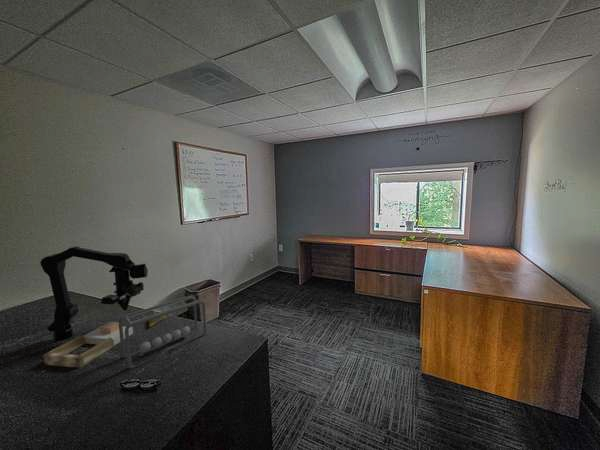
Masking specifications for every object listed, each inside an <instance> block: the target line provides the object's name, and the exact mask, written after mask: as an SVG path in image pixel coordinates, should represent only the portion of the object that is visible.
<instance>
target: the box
mask: <svg viewBox="0 0 600 450" xmlns="http://www.w3.org/2000/svg"><path fill="white" fill-rule="evenodd" d="M83 336H84V335H82V334H81V335H78V336H77V337H75V338H72V339H71V340H69V341H67V342H64V343H62V344H61V345H59V346H57V347H55V348H54V349H51V350H50V351H48V352H45V354H43V360H44V365H46V366H55V367H56V366H57V367H63V368H64V367H66V368H79V369H80V368H82V367H83V366H85V365H87V364H88V363H90V362H91V361H93V360H94V359H95V358H97V357H99V356H100V355H102V354H104V353H106V351H108V350H110V349H111V348H113V347H114V346H113V341H112V338H107V339H106V340H104V341H103V342H101V343H99V344H95V345H94V346H93V347H91V348H90V349H88V350H86V351H85V352H82V353H81V354H71V352H73V351H75V350H76V349H78V348H80V347H81V346H83V345H84V344H85V343H84V338H83Z"/></svg>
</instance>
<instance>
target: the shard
mask: <svg viewBox="0 0 600 450" xmlns="http://www.w3.org/2000/svg"><path fill="white" fill-rule="evenodd" d="M164 319H165V320H166V319H167V315H164V316H161V317H158V318H157V323H156V318H155V319H152V320H149V321H148V327H149V328H151V327H152V326H153V327H154V323H155V325H157V324H158V323H159V322H161V321H164Z"/></svg>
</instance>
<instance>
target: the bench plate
mask: <svg viewBox="0 0 600 450" xmlns="http://www.w3.org/2000/svg"><path fill="white" fill-rule="evenodd" d="M104 325H105V324H102V325H100V326H99V327H97V328H96V329H93V330H91V331H89V332H88V333H86V334H84V335H83V338H84V344H88V345H98V344H99V343H101V342H103V341H104V340H106V339H107V338H112V341H113V347H114V346H117V345H118V344H119V343H120V333H119V329H118V330H116V331H114V332H113V333H111V334H108V333H100V327H102V326H104ZM126 327H127V326H123V336H124V340H125V328H126ZM133 334H134V326H131V327H130V328H129V337H130V336H131V335H133Z"/></svg>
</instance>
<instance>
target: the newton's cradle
mask: <svg viewBox="0 0 600 450" xmlns="http://www.w3.org/2000/svg"><path fill="white" fill-rule="evenodd" d="M190 299H191V300H192V302H189V303H186V304H185V302H184V301H187V300H190ZM177 303H180V304H181V305H180V306H175V307H174V304H175V305H176V304H177ZM200 304H201V308H202V322H203V325H202V326H203V334H202V336H203V337H204V336H206V335H207V333H208V332H207V331H208V330H207V318H206V317H207V315H206V303H205V301H204V300H198V299H196V296H195V295H188V296H184V297H180V298H177V299H174V300H170V301H168V302H165V303H161V304H158V305H154V306H150V307H147V308H144V309H141V310H138V311H137V310H136V311H135V312H130V313H127V314H124V315H122V316H121V317H120V318H119V319H118V322H119V333H120V342H119V343H120V350H121V351H120V353H121V358H123V359H126V360H127V367H128V369H133V368H135V367H137V366H139V365H142V364H144V363H146V362H147V361H150V360H152V359H154V358H157V357H159V356H161V354H162V353H160V354H158V355H157V356H155V357H151V358H149V359H147V360H145V361H142V362H139V363H138V364H135V365H133V363H132V356H134V355H136V354H138V353H146V352H149V350H150V349H151V348H159V347H160V346H162V344H169V343H170V342H172V339H174V340H179V338H181V336H182V335H183V336H187V335H189V334H190V332H191V331H193V330H197V328H198V319H197V318H198V317H197V316H198V315H197V305H200ZM168 306H171V307H172V308H170V309H166V308H165V307H168ZM190 307H193V321H194V326H193V328H191V329H190V327H189V326H187V325H186V324H187V315H185V318H184V315H182V317H183V318H182V319H183V320H184V322H183V323H184V326H183V327H182V328H181V329H178V328H177V327H178V326H177V325H178V324H177V323H178V311H180V310H182V313H184V311H183V310H184V309H185V310H186V309H188V308H190ZM159 309H164V310H163V311H161V312H157V313H154V311H155V310H159ZM151 311H152V313H153V314H152V315H148V316H145V315H144V314H145V313H149V312H151ZM175 312H176V313H175ZM169 314H173V316H175V314H176V318H173V321H174V323H175V325H174V328H175V329H174V330H173V331H172V333H168V332H165V334H163V335H162V338H161V337H158V336H155V338H153V339H152V341H151V343H150V342H149V341H147V336H146V332H147V324H146V323H147V322H149V320H152V319H155V318H156V324H158V323H157V318H158V317H161V316H164V315H165V316H168V315H169ZM139 315H141V316H142V317H141V318H140V319H136V320H134V321H131V320H130V318H133V317H137V316H139ZM124 319H126V320H127V321H128V323H129V324H128V325H126V326H125V327H126V328H125V339H124V336H123V327H124V325H123V321H124ZM175 320H176V321H175ZM163 321H164V323H166V318H165V319H163ZM144 323H145V326H142V330H143V333H144V336H143V339H144V341H143V342H142V343H141V344H140V345H139V350H137V351H135V352H132V351H131V342H130V336H129V328H130V327H134V326H136V325H140V324H144ZM156 324H155V323H154V325H153V327H156ZM164 327H165V330H167V325H164ZM154 331H155V334H157V329H154ZM181 334H182V335H181ZM125 347H126V348H125Z"/></svg>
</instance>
